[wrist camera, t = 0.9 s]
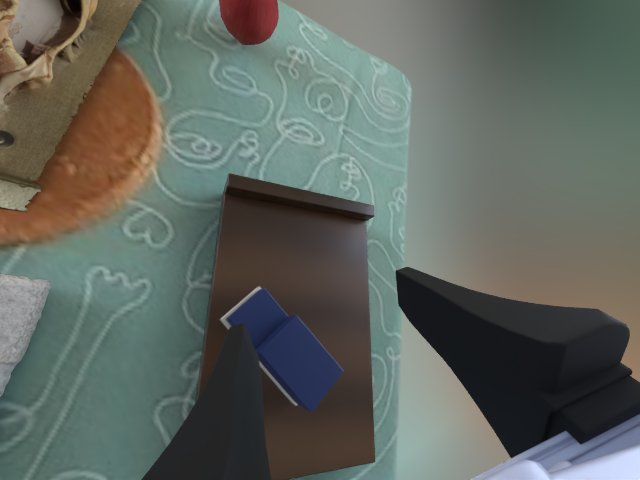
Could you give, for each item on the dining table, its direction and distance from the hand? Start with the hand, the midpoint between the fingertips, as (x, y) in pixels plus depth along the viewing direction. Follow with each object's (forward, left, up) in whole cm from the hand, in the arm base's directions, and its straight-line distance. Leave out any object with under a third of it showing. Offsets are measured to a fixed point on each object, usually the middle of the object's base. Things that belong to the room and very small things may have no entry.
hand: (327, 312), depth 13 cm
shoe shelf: (0, -3, -13) cm, 14 cm away
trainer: (-2, -1, -11) cm, 11 cm away
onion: (+30, +4, -14) cm, 33 cm away
